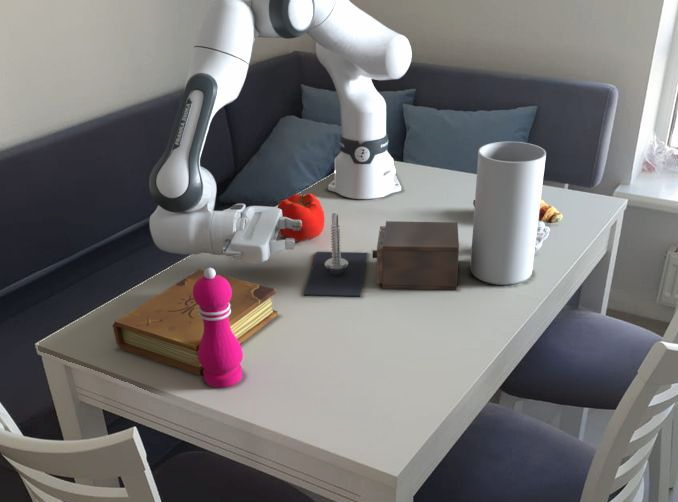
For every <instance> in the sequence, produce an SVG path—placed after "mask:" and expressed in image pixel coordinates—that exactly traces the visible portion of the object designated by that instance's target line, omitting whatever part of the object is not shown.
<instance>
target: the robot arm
mask: <svg viewBox="0 0 678 502" xmlns="http://www.w3.org/2000/svg"><path fill="white" fill-rule="evenodd" d="M305 34H307V35H308V36H310V38H312V39H313V40H314V42H316V43H315V54H316V58H317V60H318V61H319V63H320V64H321V65H322V66H323V67H324V69H325V70H326V71H327V73H328V74H329V77H330V78H331V80H332V83H333V86H334V88H335V91H336V95H337V97H338V103H339V108H340V109H339V111H340V124H341V125H340V126H341V127H340V128H341V130H340V131H341V133H340V135H339V150H340V151H339V153H338V154H337V155H336V157H335V158H334V179H332V181H331V182H330V183H329V184H328V185H327V190H328V191H330V192H333V193H337V194H338V195H339V196H342V197H345V198H348V199H349V198H350V199H354V200H355V199H356V200H372V199H378V198H383V197H385V196H388V195H390V194H393V193H397V192H400V191H402V185H401V183H400V181H399V179H398V176H397V175H396V172H397V170H396V168H395V165H394V158H393V157H392V155H391V154H390V153H389V151H388V149H389V136H388V133H387V103H386V100H385V98H384V97H383V95H382V94H380V92H379V91H378V90H377V89H376V87H375V86H374V83H373V81H372V80H377V81H391V80H392V81H393V80H399V79H401V78H402V77H404V76H405V74H406V73H407V72H408V70H409V68H410V65H411V63H412V58H413V52H412V46H411V43H410V41H409V39H408V38H407V37H406V36H405V35H403V34H401V33H399V32H397V31H395V30H393V29H391V28H389V27H387V26H386V25H384V24H383V23H382V22H381V21H379V20H377V19H376V18H374V16H371V15H370V14H369V13H366V12H365V11H364V10H362V9H361V8H359V7H358V6H356V5H355V4H354V3H352V2H351V1H350V0H210V2H209V3H208V4H207V7H206V10H205V11H204V14H203V16H202V18H201V21H200V24H199V27H198V30H197V34H196V37H195V39H194V40H195V41H194V45H193V48H192V53H191V58H190V62H189V67H188V73H187V78H186V81H185V85H184V89H183V93H182V95H181V99H180V101H179V105H178V108H177V112H176V114H175V118H174V122H173V125H172V129H171V131H170V135H169V138H168V142H167V145H166V147H165V150H164V152H163V154H162V155H161V157H160V158H159V159H158V161H157V162H156V163H155V165H154V166H153V168H152V170H151V171H150V174H149V180H148V187H149V192H150V194H151V197H152V199H153V200H154V203H155V204H157V207H156V208H155V210H154V212H153V213H151V215H150V216H149V222H148V229H149V233H150V237H151V240H152V241H153V244H154V245H155V246H156V247H157V249H159V250H160V251H163V252H165V253H169V254H176V255H177V254H178V255H199V254H210V255H214V256H226V257H231V258H232V260H235V261H241V262H249V263H264V262H267V261H268V260H269V259H270V256H271V253H278V252H282V251H285V250H294V249H295V247H296V241H295V239H294V238H285V239H279V240H277V238H278V236H279V234H280V229H285V228H290V229H293V231H296V230H298V231H299V230H301V228H302V221H301V220H293V219H290V218H287V217H283V216H282V210H281V209H279V208H278V206H277V207H276V206H269V205H268V206H266V205H249V206H247V205H246V204H245V203H236V204H233V205H232V206H231V207H229V208H225V209H223V210H215V206H216V201H217V192H218V191H217V190H218V189H217V187H218V186H217V182H216V179H215V177H214V175H213V174H212V173H211V172H210V171H209V170H208V169H207V168H205V167H203V166H201V157H202V153H203V150H204V146H205V143H206V139H207V136H208V133H209V129H210V125H211V123H212V121H213V118H214V117H215V115H216V114H217V112H218V111H219V110H220V109H222V108H224V106H227V105H229V104H230V103H231V104H232V103H233V102H235V100H236V99H238V97H239V96H240V94H241V91H242V89H243V86H244V84H245V81H246V78H247V74H248V71H249V67H250V62H251V57H252V52H253V47H254V42H255V41H256V39H257V38H262V39H267V38H269V39H279V38H280V39H281V38H282V39H286V40H289V39H290V40H291V39H295V38H299V37H302V36H304V35H305Z"/></svg>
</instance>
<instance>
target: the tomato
mask: <svg viewBox="0 0 678 502" xmlns="http://www.w3.org/2000/svg"><path fill="white" fill-rule="evenodd" d="M277 208H279V209H281V210H282V216H283V217H287V218H290V219H293V220H301V221H302V228H301V230H299V231H298V230H296V231H293V229H290V228H285V229H280V231H279V234H280V235H281V236H282V237H283V238H285V239H286V238H294V239H295V242H302V241H306V240H312V239H314V238H317V237H319V236H320V235H321V234H322V233H323V232H324V228H325V219H326V218H325V212H324V209H323V206H322V205H321V201H320V200H319V199H318V198H317V196H315V194H312V193H310V192H308V193H306V194H304V193H302V194H300V193H297V194H292V195H290V196H289V197H287V199H283V200H280V202H279V203H278V205H277Z"/></svg>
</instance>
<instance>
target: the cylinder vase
mask: <svg viewBox="0 0 678 502" xmlns="http://www.w3.org/2000/svg"><path fill="white" fill-rule="evenodd" d="M546 158H547V151H546V150H545V148H543V147H541V146H539V145H536V144H533V143H529V142H522V141H498V142H490V143H487V144H486V143H485V144H484V145H482V146H480V147H479V148H478V152H477V167H476V178H475V180H476V181H475V193H474V200H475V207H474V208H473V209H474V211H473V224H472V237H471V238H472V239H471V251H470V266H469V267H470V272H471V273H472V275H473V276H474V277H475V278H476V279H478V280H479V281H481V282H484V283H487V284H492V285H500V286H509V285H510V286H511V285H516V284H520V283H523V282H525V281H527V280H528V279H529V278H531V276H532V274H533V269H534V260H535V259H534V258H535V253H536V252H535V244H536V235H537V227H538V218H539V210H540V201H541V199H542V192H543V182H544V174H545V166H546Z"/></svg>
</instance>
